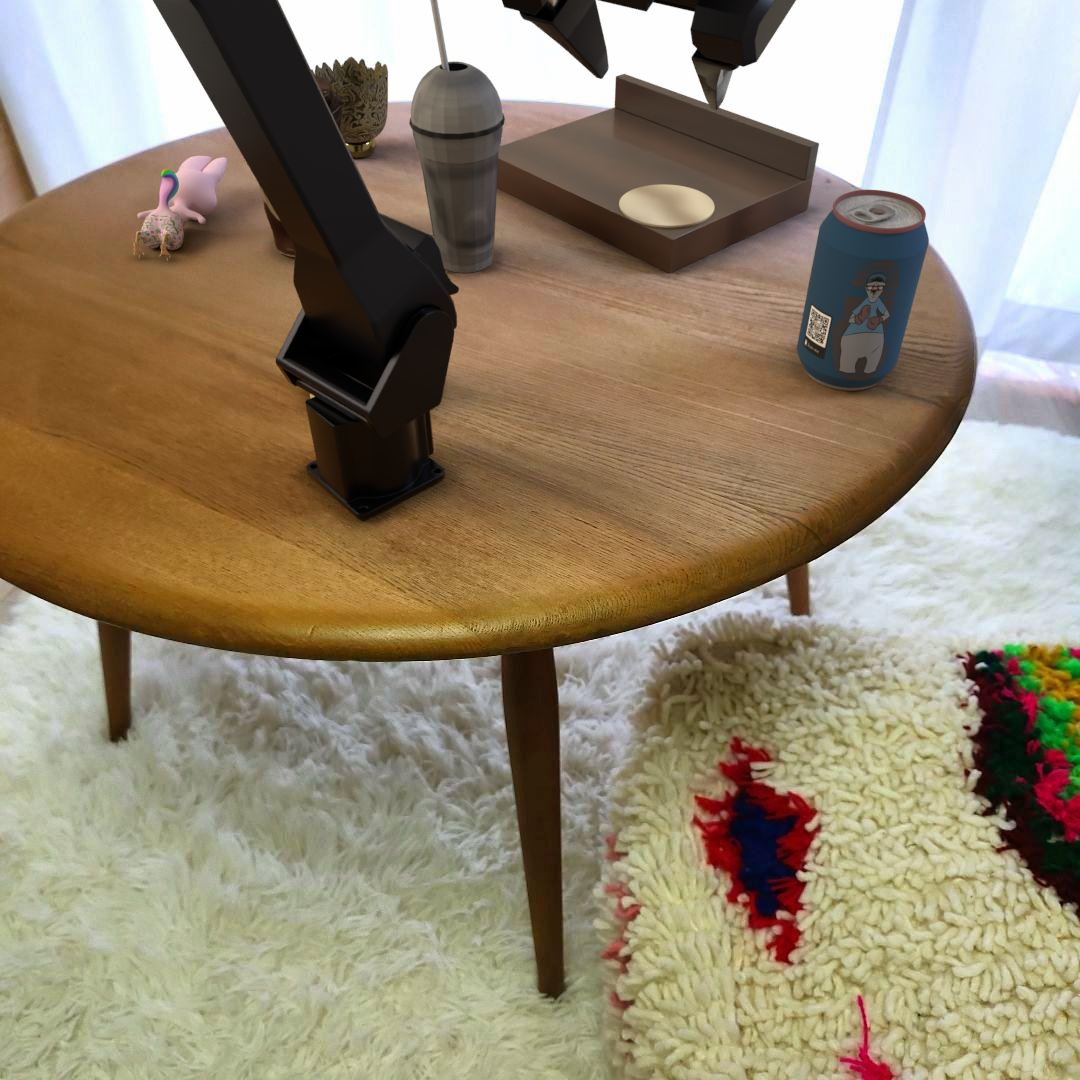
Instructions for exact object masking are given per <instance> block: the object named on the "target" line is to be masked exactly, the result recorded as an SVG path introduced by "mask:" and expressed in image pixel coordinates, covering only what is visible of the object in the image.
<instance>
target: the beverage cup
mask: <svg viewBox="0 0 1080 1080" xmlns="http://www.w3.org/2000/svg"><path fill="white" fill-rule="evenodd" d="M429 1H430V6H431V12H432V17H433V23H434V29H435V35H436V41H437V46H438V51H439V59H440V64H438V65H436V66H434V67H433V68H431V69H430V70H429V71H428V72H426V74H424V76H423V77H422V78H421V79H420V81H419V83H417V86H416V88H415V91H414V93H413V96H412V100H411V104H410V105H411V107H410V117H409V123H408V124H409V126H410V128H411V130H412V135H413V139H414V142H415V143H414V144H415V146H416V149H417V152H418V154H419V161H420V165H421V171H422V176H423V182H424V188H425V194H426V200H427V206H428V212H429V218H430V223H431V224H430V225H431V231H432V236H433V238H434V240H435V242H436V244H437V246H438V247H439V249H440V253H441V257H442V261H443V265H444V269H445V270H447V271H450V272H453V273H458V274H459V273H460V274H461V273H462V274H468V273H475V272H479V271H481V270H482V271H483V270H484V269H487V268H488V267H489V266H491V264H492V263H493V260H494V259H493V253H494V244H495V236H496V235H495V234H496V215H497V213H496V211H497V195H498V193H497V191H498V188H497V174H498V153H499V149H500V146H501V144H502V137H503V136H502V135H503V130H504V129H503V128H504V125H505V122H506V121H505V120H506V118H505V114H504V112H503V106H502V105H503V104H502V101H501V98H500V95H499V92H498V91H497V89H496V87H495V85H494V84H493V82H492V81H491V79H490V78H489V77H488V76H487V75H486V74H485V72H483V71H482V70H481V69H479V68H478V67H476V66H474V65H472V64H470V63H467V62H463V61H448V60H449V59H448V53H447V49H446V43H445V38H444V37H445V36H444V31H443V25H442V20H441V14H440V9H439V8H440V7H439V2H438V0H429Z"/></svg>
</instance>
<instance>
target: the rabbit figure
mask: <svg viewBox="0 0 1080 1080" xmlns="http://www.w3.org/2000/svg"><path fill="white" fill-rule="evenodd" d="M227 164H228V158H227V157H217V158H214V159H213V160H212V157H211V156H207V155H193V156H191V157H188V158H186V159H185V160H184V161H183V162H182V164H181V165H179V168H178V171H176V172H174V171H173V170H171V169H170V168H165V169H163V170H162V171H161V173H160V177H161V179H160V180H161V181H160V186H159V193H158V194H159V195H158V197H159V203H158V206H157V208H156V209H149V210H146V211H141V212H138V213H137V215H136V217H137V218H138V219H139V220H143V223H142V227H141V230H137V231H136V232H135V239H133V238H132V239H131V241H132V242H133V256H134V255H136V254H138V259H141V254H142V255H143V256H145V253H144V252H143V251H142V249H141V248H140V244H139V242H140V240H141V242H142V243H143V245H145V247H147V248H149V249H157V248H158V247H159V248H160V250H161V251H160V254H159V257H161V256H163V255H164V256H165V257H166V261H167V262H169V258H171V254H170V252H168V250H171V251H175V250H178V249H179V248H181V247H182V246H183V245H182V244H183V242H184V237H185V236H184V235H185V233H184V227H185V226H186V225H187V223H188V222H189V221H198V223H199V224H201V225H205V224H206V222H207V220H206V218H205V217H204V216H207V215H209V214H210V213H212V212H213V210H214V209H215V208H216V206H217V204H218V200H217V195H216V187H217V186H218V184H219V182H221V180H222V178H223V176H224V173H225V172H226V171H225V170H226V166H227Z"/></svg>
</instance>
